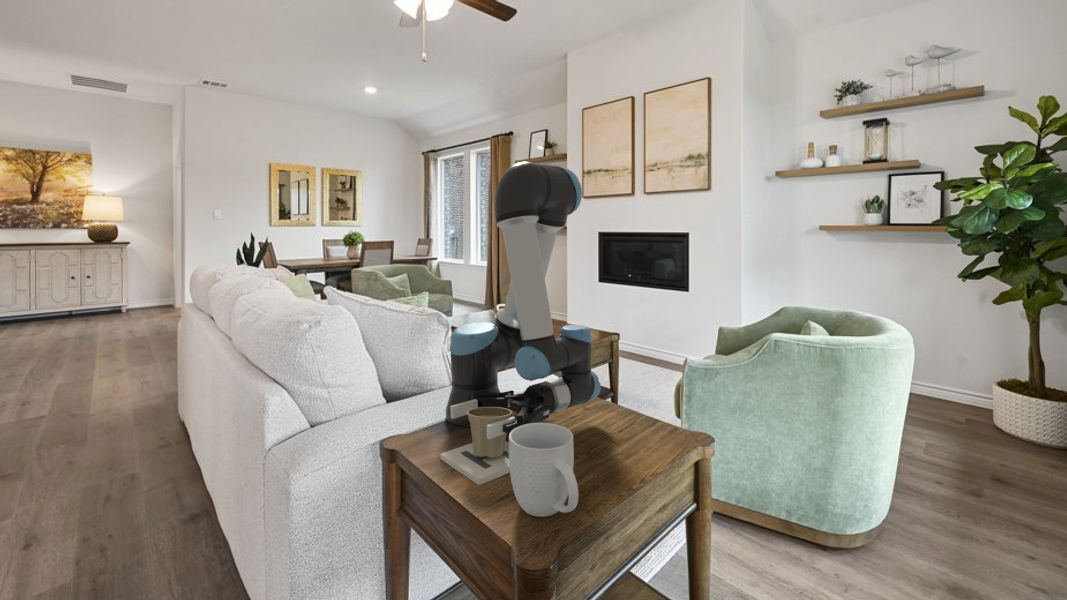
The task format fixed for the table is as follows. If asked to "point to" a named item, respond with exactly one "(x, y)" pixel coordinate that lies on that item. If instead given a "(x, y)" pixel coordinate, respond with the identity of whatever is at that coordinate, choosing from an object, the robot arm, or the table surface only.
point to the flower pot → (479, 430)
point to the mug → (543, 468)
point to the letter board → (477, 463)
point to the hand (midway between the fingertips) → (468, 421)
